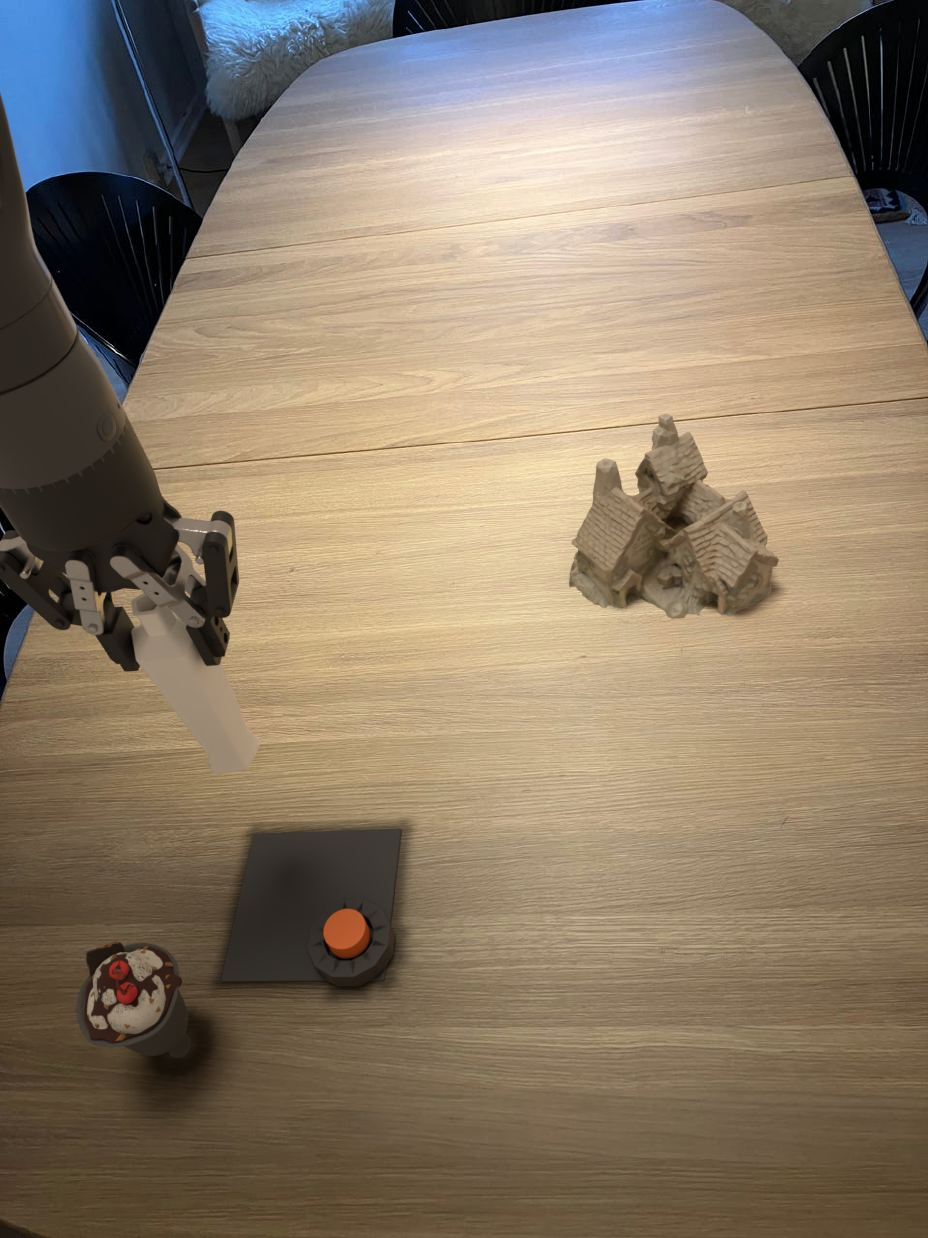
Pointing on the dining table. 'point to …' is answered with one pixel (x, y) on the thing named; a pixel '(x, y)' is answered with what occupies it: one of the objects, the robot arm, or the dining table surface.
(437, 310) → the dining table surface
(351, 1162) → the dining table surface
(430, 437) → the dining table surface
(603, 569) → the ceramic cottage
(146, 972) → the sundae
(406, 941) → the dining table surface
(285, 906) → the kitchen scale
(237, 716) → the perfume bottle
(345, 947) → the button
